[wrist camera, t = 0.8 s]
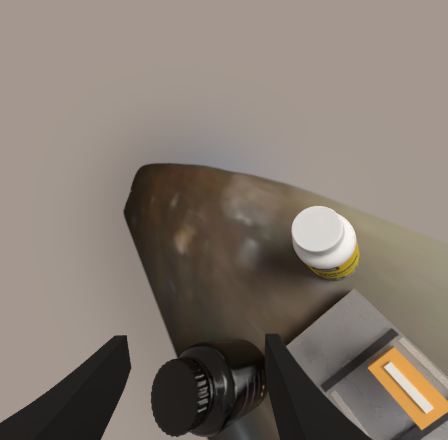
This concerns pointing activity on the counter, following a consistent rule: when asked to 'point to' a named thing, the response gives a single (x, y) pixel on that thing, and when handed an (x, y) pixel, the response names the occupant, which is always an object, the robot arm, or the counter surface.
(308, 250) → the supplement bottle
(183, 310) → the counter surface
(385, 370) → the orange cuboid
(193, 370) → the supplement bottle
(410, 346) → the strip
